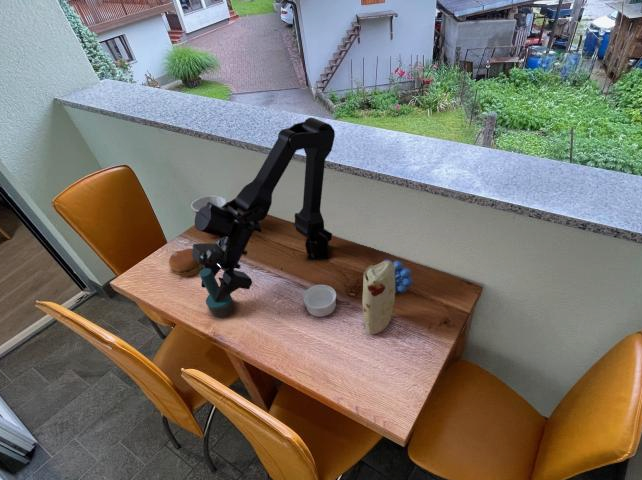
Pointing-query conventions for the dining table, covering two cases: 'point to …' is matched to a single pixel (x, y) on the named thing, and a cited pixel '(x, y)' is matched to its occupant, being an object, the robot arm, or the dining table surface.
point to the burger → (184, 263)
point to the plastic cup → (204, 200)
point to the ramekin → (320, 300)
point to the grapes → (401, 277)
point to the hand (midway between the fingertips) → (209, 294)
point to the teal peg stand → (216, 308)
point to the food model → (378, 296)
